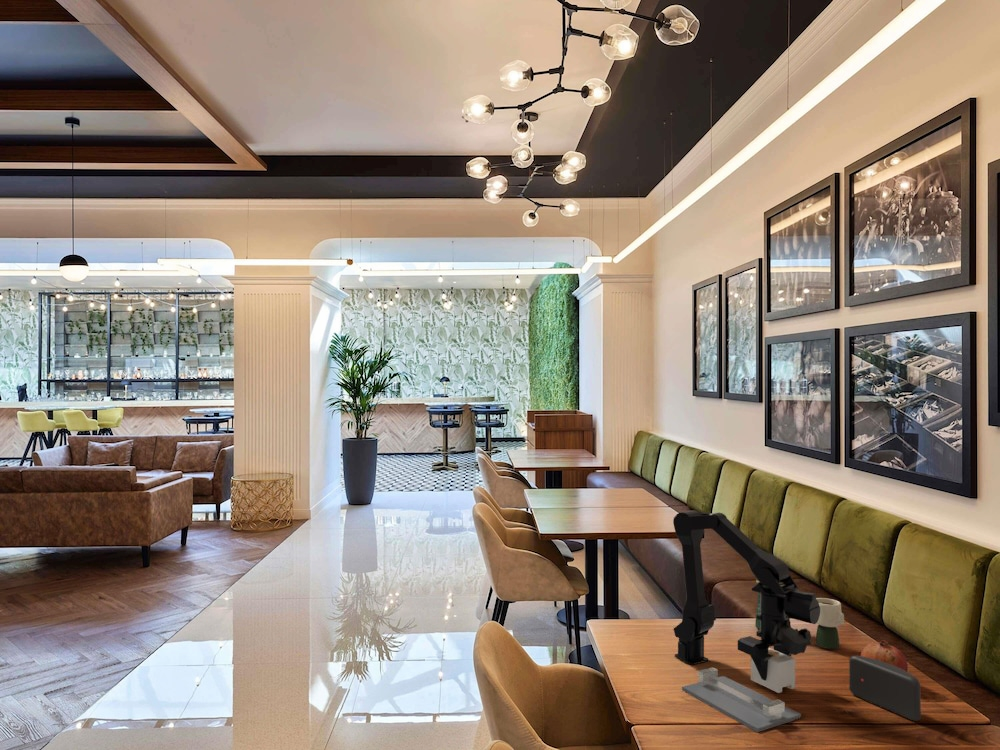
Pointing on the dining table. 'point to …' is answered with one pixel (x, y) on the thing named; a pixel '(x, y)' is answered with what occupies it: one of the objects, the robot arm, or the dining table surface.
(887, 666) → the dark grey smartphone
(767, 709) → the DIN rail
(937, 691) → the dining table surface
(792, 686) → the block
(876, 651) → the fruit
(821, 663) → the dining table surface
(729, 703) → the mounting plate
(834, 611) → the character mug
